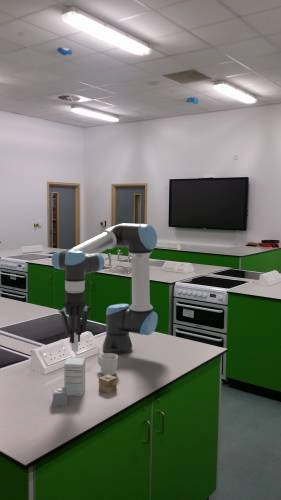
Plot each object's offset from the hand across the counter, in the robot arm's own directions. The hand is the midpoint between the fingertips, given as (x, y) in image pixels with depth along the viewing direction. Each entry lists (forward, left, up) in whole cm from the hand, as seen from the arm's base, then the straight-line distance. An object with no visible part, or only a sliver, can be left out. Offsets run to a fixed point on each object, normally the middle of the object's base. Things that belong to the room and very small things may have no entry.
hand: (74, 350), depth 170 cm
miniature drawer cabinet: (0, 0, -17) cm, 17 cm away
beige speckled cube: (-12, +5, -17) cm, 21 cm away
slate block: (+9, +6, -17) cm, 20 cm away
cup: (-20, -10, -17) cm, 28 cm away
